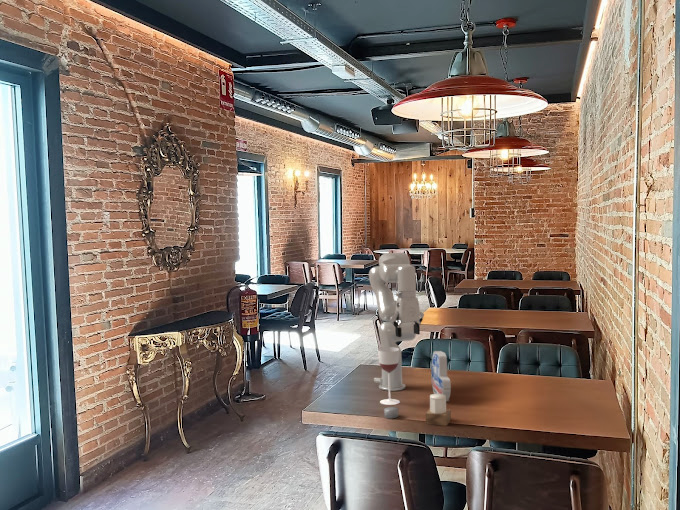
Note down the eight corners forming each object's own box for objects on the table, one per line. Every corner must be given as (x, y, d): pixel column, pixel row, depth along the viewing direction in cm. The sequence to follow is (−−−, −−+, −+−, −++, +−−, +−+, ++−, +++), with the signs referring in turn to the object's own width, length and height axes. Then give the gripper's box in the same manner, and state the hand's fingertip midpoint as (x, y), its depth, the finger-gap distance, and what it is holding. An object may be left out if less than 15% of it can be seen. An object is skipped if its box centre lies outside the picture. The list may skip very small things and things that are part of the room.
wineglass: (402, 399, 253) (401, 347, 252) (397, 405, 244) (396, 352, 243) (382, 397, 256) (381, 346, 255) (376, 404, 247) (375, 351, 246)
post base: (425, 423, 220) (425, 401, 220) (430, 417, 228) (430, 396, 227) (446, 425, 217) (446, 403, 217) (451, 419, 224) (450, 397, 224)
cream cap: (446, 413, 219) (446, 398, 219) (430, 413, 220) (430, 398, 219) (445, 408, 225) (445, 393, 225) (429, 408, 226) (429, 393, 225)
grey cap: (400, 416, 228) (400, 409, 228) (388, 419, 226) (387, 411, 226) (395, 413, 233) (394, 406, 233) (382, 416, 232) (381, 408, 232)
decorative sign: (451, 404, 244) (450, 357, 244) (443, 404, 244) (442, 357, 243) (438, 388, 269) (437, 346, 268) (431, 389, 268) (430, 346, 268)
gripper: (395, 297, 233) (396, 339, 234) (428, 293, 242) (429, 334, 243) (384, 295, 239) (385, 336, 240) (417, 292, 248) (417, 331, 249)
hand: (407, 335), depth 241 cm, fingers open, 9 cm apart
